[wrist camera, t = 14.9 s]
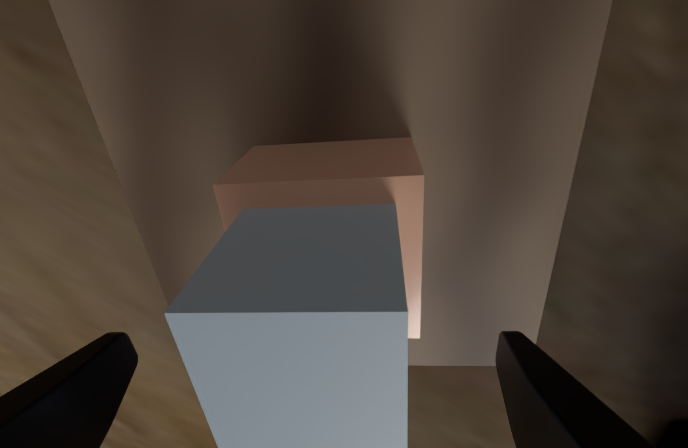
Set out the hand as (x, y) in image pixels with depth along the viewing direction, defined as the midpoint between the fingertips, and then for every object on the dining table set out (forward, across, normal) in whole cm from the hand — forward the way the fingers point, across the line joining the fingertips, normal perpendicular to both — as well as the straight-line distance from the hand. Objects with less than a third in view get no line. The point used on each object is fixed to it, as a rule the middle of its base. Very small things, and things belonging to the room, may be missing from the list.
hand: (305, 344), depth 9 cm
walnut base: (+9, 0, 0) cm, 9 cm away
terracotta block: (+7, 0, 0) cm, 7 cm away
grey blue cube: (+3, 0, 0) cm, 3 cm away
